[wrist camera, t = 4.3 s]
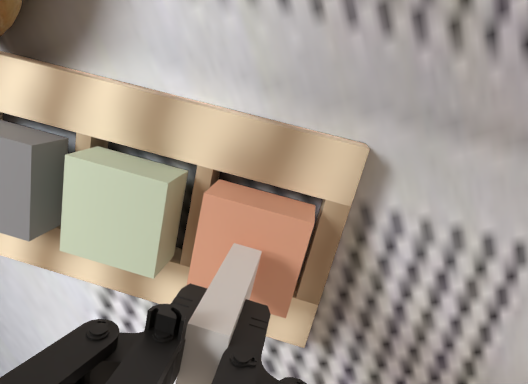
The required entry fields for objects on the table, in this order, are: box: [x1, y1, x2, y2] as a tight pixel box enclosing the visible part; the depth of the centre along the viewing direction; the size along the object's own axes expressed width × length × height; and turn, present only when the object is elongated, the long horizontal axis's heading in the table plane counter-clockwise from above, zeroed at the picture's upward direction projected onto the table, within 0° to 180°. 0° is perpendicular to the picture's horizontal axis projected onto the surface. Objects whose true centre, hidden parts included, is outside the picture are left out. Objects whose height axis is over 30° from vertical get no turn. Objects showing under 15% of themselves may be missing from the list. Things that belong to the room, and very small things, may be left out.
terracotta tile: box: [186, 179, 315, 318], centre depth 21 cm, size 6×6×3 cm
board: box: [0, 51, 370, 348], centre depth 24 cm, size 26×14×2 cm, turn 77°
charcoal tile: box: [0, 120, 68, 241], centre depth 22 cm, size 6×6×3 cm
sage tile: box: [60, 146, 188, 279], centre depth 21 cm, size 6×6×3 cm
